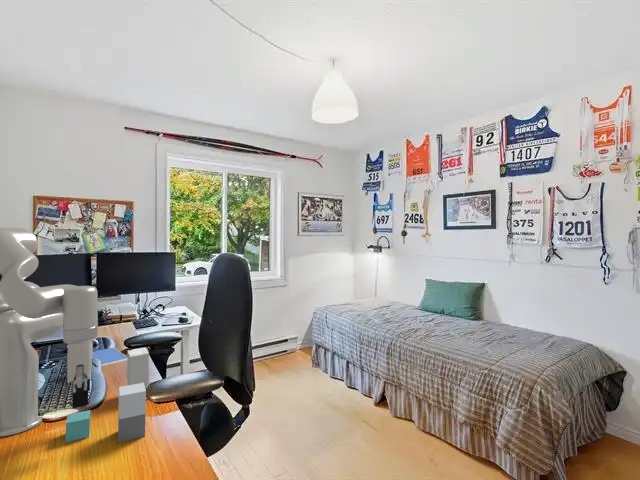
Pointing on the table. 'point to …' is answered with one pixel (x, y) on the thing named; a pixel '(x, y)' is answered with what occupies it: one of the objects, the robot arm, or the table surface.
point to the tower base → (131, 428)
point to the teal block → (77, 426)
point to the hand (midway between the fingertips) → (81, 398)
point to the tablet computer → (109, 356)
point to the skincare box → (138, 367)
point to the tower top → (132, 400)
